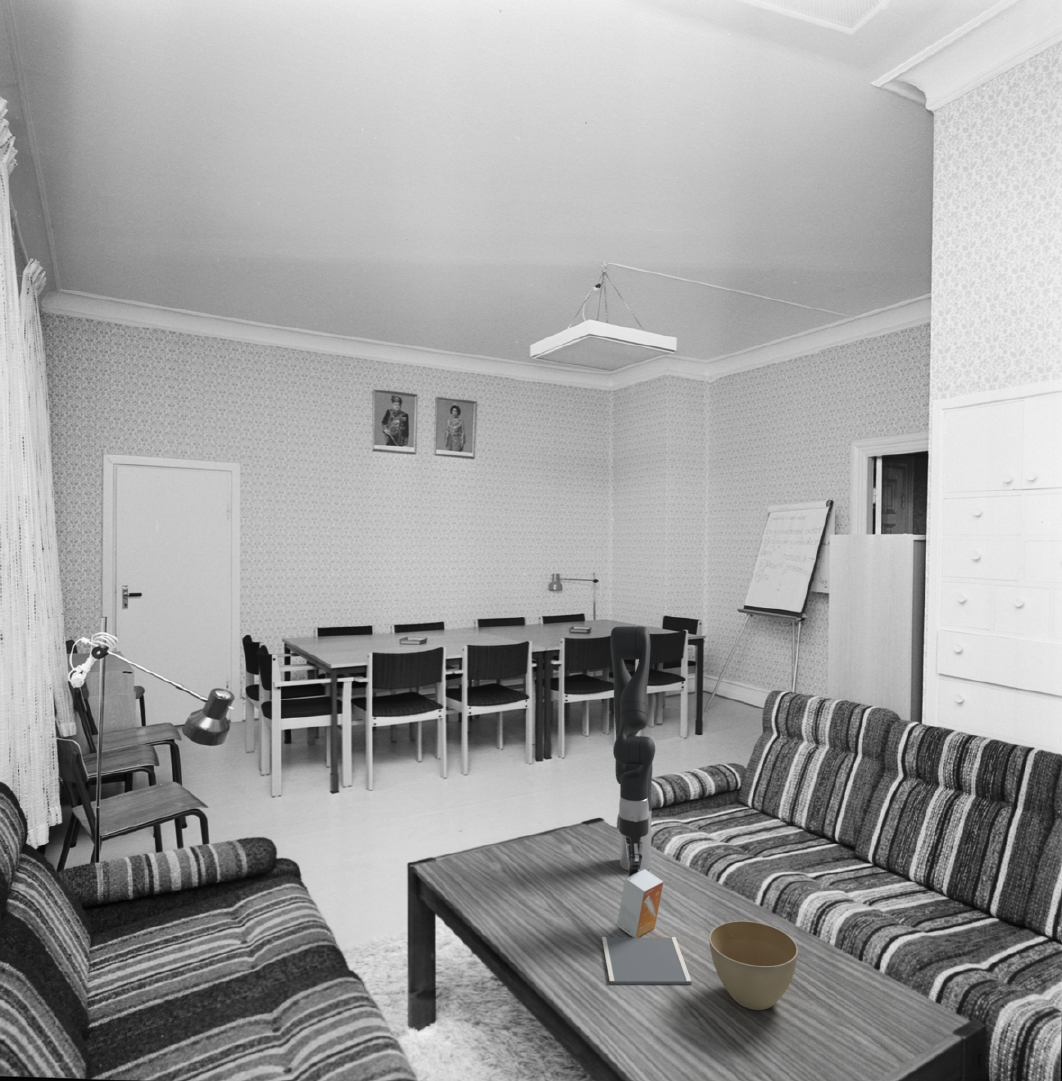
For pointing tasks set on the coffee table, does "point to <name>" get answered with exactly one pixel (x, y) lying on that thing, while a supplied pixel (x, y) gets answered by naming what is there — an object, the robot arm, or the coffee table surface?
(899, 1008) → the coffee table surface
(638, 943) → the mat
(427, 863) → the coffee table surface
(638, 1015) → the coffee table surface
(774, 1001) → the beige round bowl
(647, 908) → the small box
